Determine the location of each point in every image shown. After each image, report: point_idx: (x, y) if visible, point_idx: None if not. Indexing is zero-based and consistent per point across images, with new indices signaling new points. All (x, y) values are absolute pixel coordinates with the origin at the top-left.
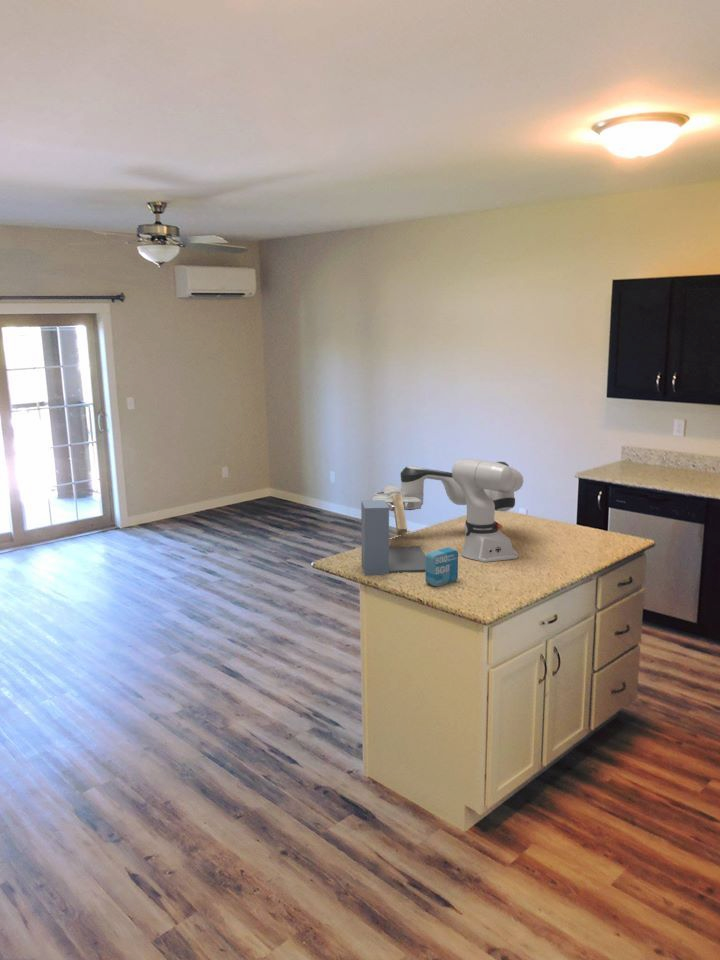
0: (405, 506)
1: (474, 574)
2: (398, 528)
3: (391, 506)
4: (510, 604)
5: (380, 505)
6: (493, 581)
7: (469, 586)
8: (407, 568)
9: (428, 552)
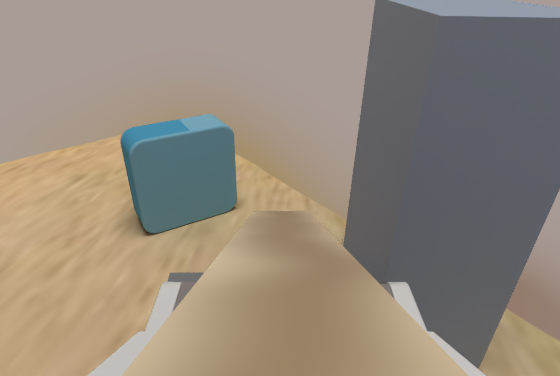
0: (183, 284)
1: (48, 250)
2: (306, 212)
3: (395, 282)
4: (109, 140)
5: (431, 1)
6: (41, 209)
7: (129, 192)
8: None
9: (224, 124)
